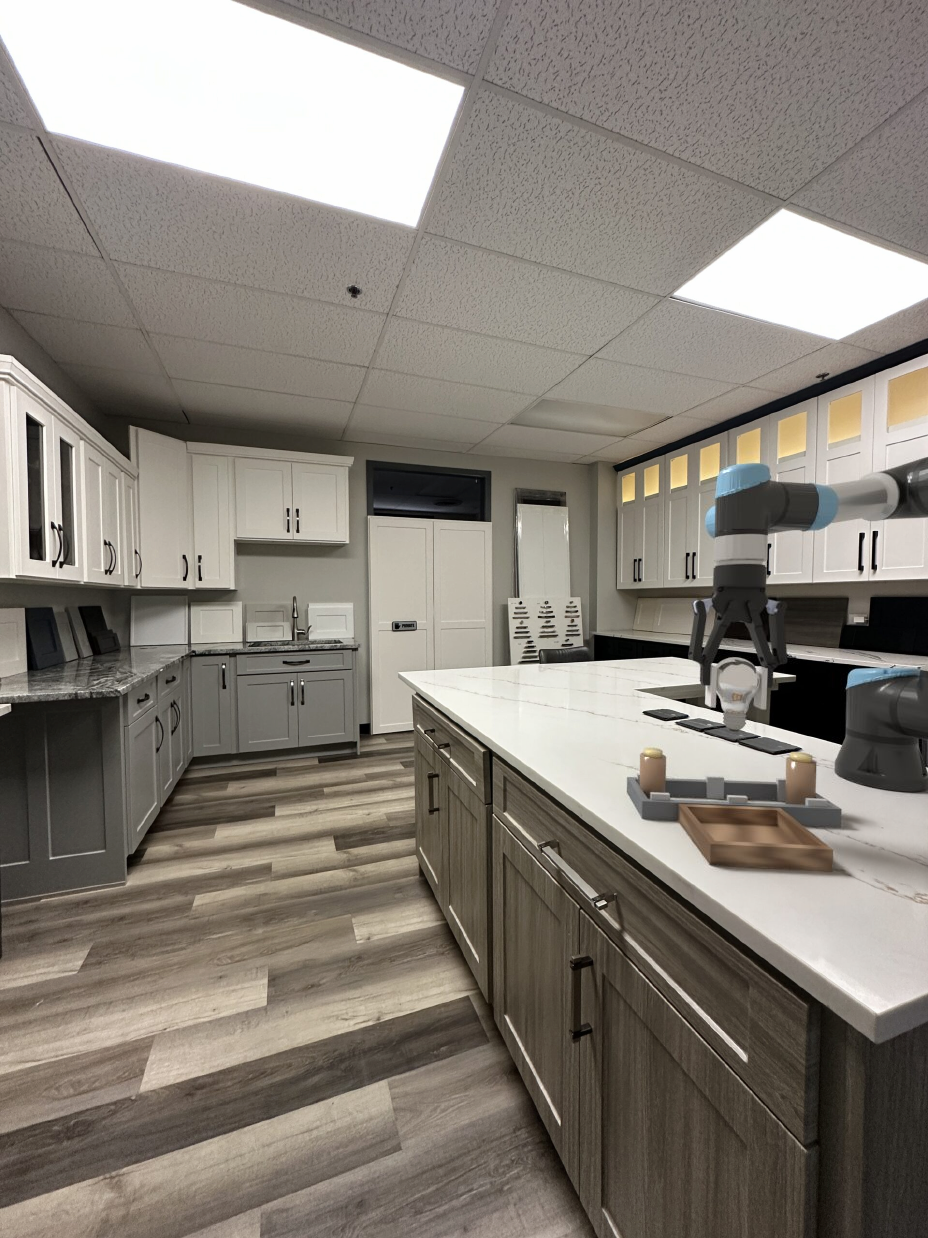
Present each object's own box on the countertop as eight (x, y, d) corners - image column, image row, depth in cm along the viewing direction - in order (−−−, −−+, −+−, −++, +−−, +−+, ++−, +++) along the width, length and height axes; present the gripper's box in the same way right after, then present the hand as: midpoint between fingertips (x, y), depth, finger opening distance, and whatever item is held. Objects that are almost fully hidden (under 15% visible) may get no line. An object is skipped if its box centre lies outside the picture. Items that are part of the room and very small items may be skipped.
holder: (800, 798, 95) (800, 777, 94) (841, 827, 83) (841, 803, 83) (626, 792, 98) (627, 771, 98) (642, 818, 86) (642, 795, 86)
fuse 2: (806, 806, 91) (807, 751, 91) (820, 817, 87) (822, 759, 86) (780, 805, 91) (781, 750, 91) (793, 816, 87) (794, 758, 87)
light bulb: (765, 738, 78) (767, 660, 78) (716, 735, 80) (717, 658, 80) (751, 727, 85) (752, 655, 85) (706, 724, 87) (707, 654, 86)
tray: (779, 826, 83) (780, 808, 83) (832, 871, 69) (833, 849, 69) (678, 821, 85) (678, 803, 85) (710, 865, 71) (710, 844, 71)
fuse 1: (661, 801, 93) (662, 747, 93) (668, 811, 89) (669, 754, 89) (636, 800, 94) (637, 746, 94) (642, 809, 90) (643, 753, 89)
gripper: (794, 566, 84) (789, 704, 85) (669, 565, 87) (665, 699, 87) (819, 562, 77) (813, 714, 77) (681, 561, 79) (677, 708, 80)
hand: (734, 706), depth 82 cm, fingers closed on light bulb, 7 cm apart
